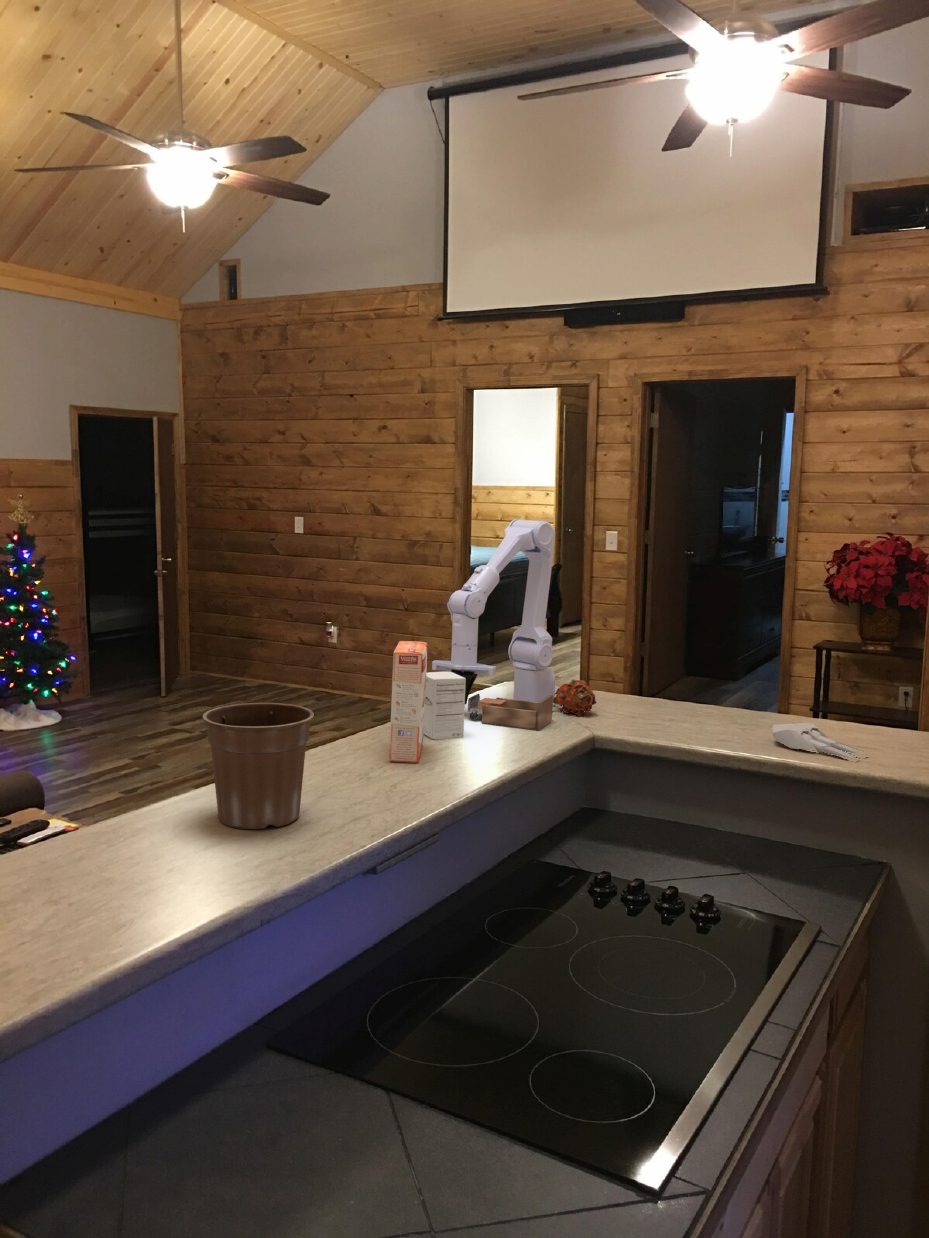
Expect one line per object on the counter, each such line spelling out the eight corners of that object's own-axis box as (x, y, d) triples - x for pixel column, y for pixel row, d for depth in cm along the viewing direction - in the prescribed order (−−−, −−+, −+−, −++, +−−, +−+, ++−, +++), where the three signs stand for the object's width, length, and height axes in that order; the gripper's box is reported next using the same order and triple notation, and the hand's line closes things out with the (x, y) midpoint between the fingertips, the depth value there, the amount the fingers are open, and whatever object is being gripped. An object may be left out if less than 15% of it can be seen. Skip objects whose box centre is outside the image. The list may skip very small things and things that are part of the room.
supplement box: (417, 731, 209) (419, 672, 208) (449, 729, 212) (451, 670, 211) (431, 740, 203) (433, 678, 201) (464, 737, 206) (466, 677, 204)
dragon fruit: (589, 725, 227) (556, 722, 237) (611, 701, 231) (578, 698, 241) (570, 697, 224) (538, 695, 234) (593, 673, 228) (561, 671, 238)
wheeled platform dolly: (466, 719, 221) (467, 698, 220) (477, 712, 228) (478, 692, 227) (498, 723, 218) (499, 702, 218) (509, 716, 225) (510, 696, 225)
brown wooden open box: (481, 723, 218) (482, 696, 218) (496, 714, 228) (497, 688, 227) (538, 730, 214) (540, 703, 213) (551, 721, 223) (553, 694, 222)
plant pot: (184, 830, 145) (184, 721, 143) (225, 797, 161) (226, 699, 159) (293, 839, 143) (295, 729, 141) (324, 805, 159) (326, 705, 157)
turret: (849, 776, 197) (854, 753, 196) (758, 740, 210) (763, 719, 209) (870, 767, 204) (875, 745, 203) (781, 733, 217) (786, 713, 216)
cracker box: (420, 764, 185) (424, 652, 182) (388, 762, 185) (391, 651, 182) (425, 745, 199) (428, 640, 196) (394, 743, 199) (397, 639, 196)
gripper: (427, 643, 222) (425, 703, 224) (489, 649, 217) (486, 711, 219) (439, 639, 229) (437, 698, 230) (499, 645, 224) (497, 705, 225)
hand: (462, 704), depth 225 cm, fingers closed
